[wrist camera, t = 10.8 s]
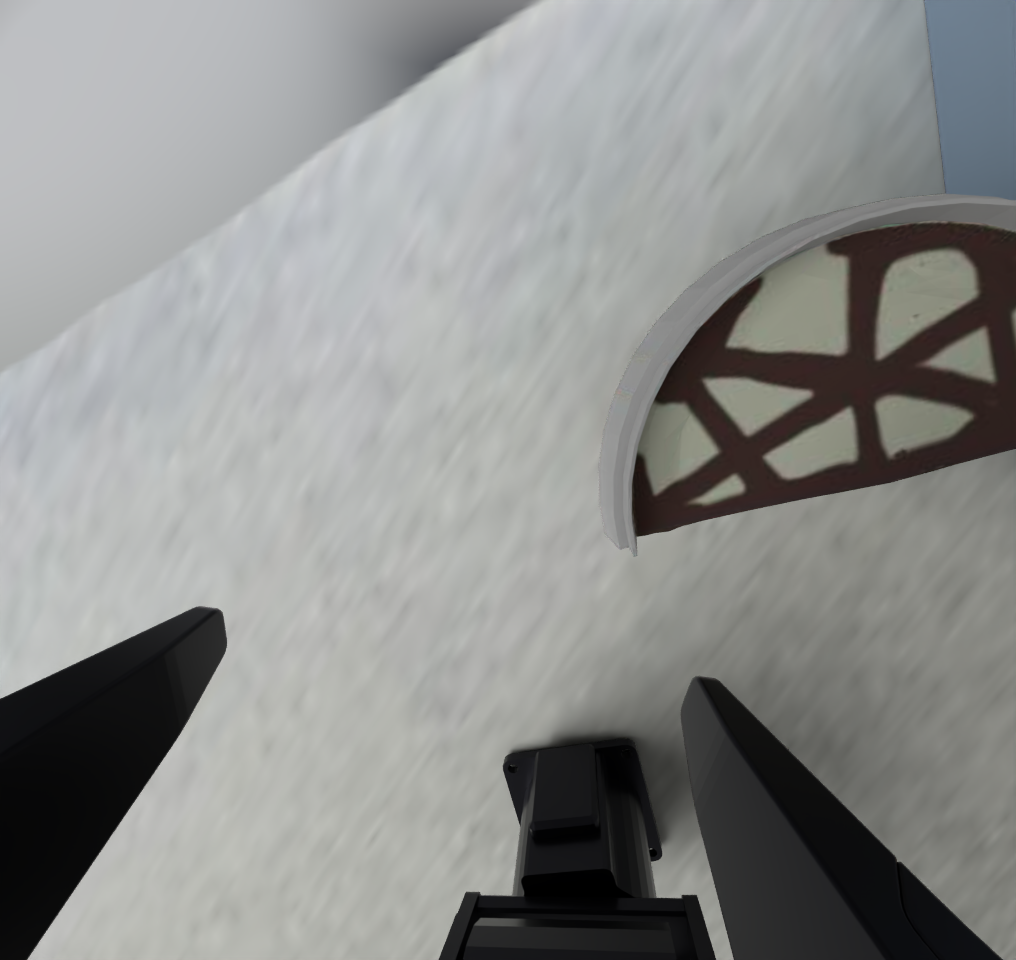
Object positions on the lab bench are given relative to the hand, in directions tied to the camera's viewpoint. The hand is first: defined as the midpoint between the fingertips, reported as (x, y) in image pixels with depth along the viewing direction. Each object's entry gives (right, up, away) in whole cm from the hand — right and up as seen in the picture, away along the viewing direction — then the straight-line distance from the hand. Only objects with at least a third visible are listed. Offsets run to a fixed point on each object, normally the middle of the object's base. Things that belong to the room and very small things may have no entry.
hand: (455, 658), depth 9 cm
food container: (+10, +8, +10) cm, 16 cm away
